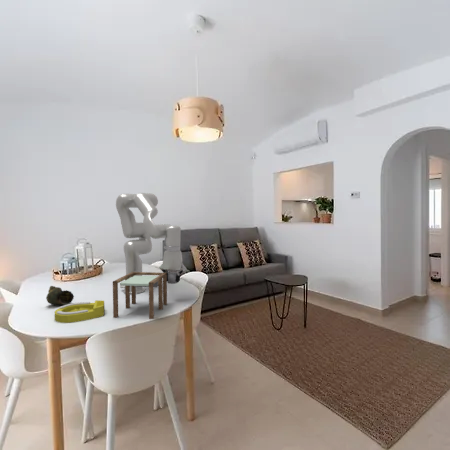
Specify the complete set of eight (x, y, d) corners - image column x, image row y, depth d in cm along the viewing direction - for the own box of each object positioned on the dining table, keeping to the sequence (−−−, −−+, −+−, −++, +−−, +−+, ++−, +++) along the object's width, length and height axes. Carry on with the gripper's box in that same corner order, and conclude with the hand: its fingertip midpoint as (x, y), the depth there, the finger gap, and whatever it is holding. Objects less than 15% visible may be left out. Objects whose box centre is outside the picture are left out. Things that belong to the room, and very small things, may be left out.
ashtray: (103, 319, 129) (103, 308, 129) (51, 325, 122) (50, 314, 122) (104, 307, 145) (104, 298, 145) (58, 313, 137) (58, 302, 137)
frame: (113, 317, 131) (112, 281, 130) (133, 302, 151) (132, 271, 151) (152, 319, 129) (152, 282, 128) (167, 304, 149) (166, 272, 149)
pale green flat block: (119, 293, 132) (119, 283, 132) (134, 285, 148) (133, 275, 148) (149, 294, 131) (149, 284, 130) (161, 285, 146) (161, 276, 146)
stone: (166, 283, 151) (166, 274, 151) (169, 280, 156) (169, 271, 156) (175, 284, 151) (175, 274, 150) (178, 281, 156) (178, 272, 155)
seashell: (54, 310, 140) (54, 290, 140) (43, 306, 146) (42, 287, 146) (75, 304, 149) (75, 285, 149) (63, 300, 155) (63, 282, 155)
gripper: (155, 248, 149) (154, 282, 151) (187, 250, 148) (186, 284, 149) (160, 246, 157) (159, 279, 158) (190, 248, 155) (189, 280, 156)
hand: (172, 281), depth 153 cm, fingers closed on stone, 5 cm apart
